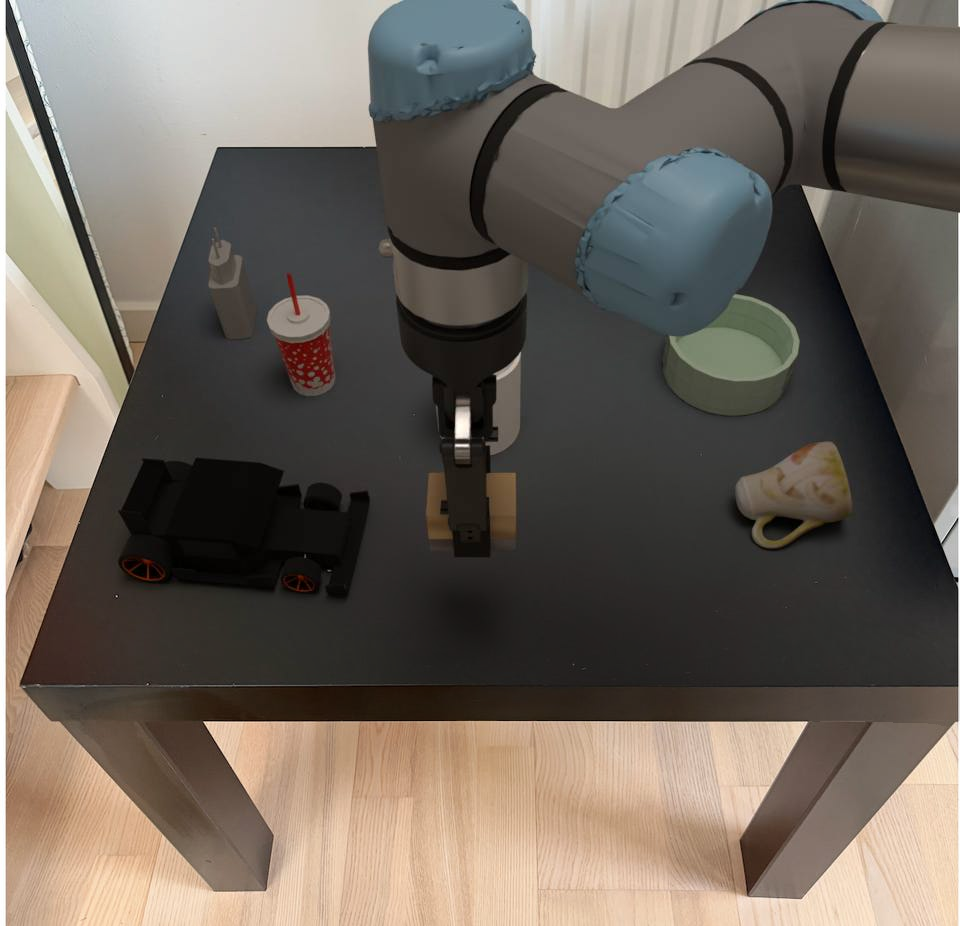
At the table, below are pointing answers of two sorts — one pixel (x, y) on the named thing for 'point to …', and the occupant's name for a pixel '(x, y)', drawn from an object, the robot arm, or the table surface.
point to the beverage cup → (304, 341)
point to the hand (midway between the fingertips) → (473, 527)
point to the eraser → (500, 507)
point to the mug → (797, 492)
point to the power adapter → (231, 291)
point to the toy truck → (238, 526)
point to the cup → (506, 406)
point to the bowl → (734, 359)
